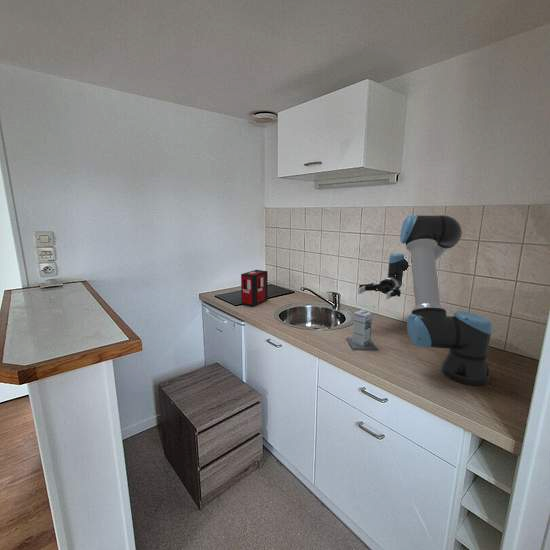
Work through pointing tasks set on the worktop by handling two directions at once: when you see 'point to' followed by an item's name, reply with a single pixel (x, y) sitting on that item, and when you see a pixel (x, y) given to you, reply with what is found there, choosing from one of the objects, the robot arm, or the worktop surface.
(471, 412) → the worktop surface
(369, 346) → the charcoal mat
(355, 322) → the syrup box
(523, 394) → the worktop surface
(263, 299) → the cleaning product box
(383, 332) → the worktop surface
